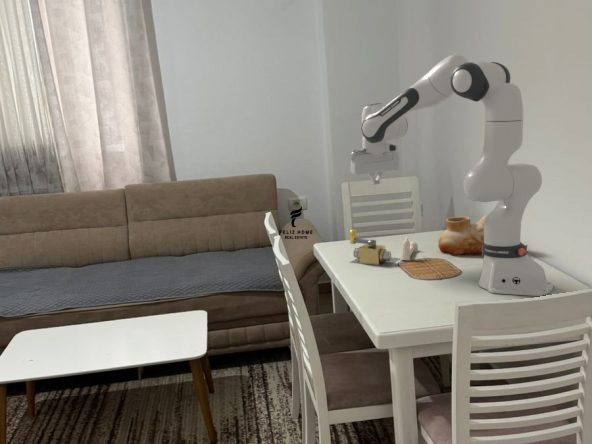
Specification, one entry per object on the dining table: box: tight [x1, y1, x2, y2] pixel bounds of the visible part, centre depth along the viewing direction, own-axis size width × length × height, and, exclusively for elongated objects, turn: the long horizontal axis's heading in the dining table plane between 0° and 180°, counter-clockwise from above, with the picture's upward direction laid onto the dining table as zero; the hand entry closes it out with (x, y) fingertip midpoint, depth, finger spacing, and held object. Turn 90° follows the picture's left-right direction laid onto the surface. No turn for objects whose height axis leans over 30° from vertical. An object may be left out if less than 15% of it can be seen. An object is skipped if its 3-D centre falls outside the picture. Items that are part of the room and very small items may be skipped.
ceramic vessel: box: [437, 212, 490, 257], centre depth 240 cm, size 14×26×15 cm, turn 82°
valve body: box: [353, 244, 392, 266], centre depth 233 cm, size 14×6×6 cm, turn 57°
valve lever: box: [349, 229, 377, 247], centre depth 234 cm, size 11×3×6 cm, turn 54°
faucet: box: [400, 235, 419, 261], centre depth 240 cm, size 4×18×10 cm, turn 159°
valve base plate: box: [349, 257, 401, 268], centre depth 235 cm, size 16×12×1 cm
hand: (375, 184), depth 234 cm, fingers closed
